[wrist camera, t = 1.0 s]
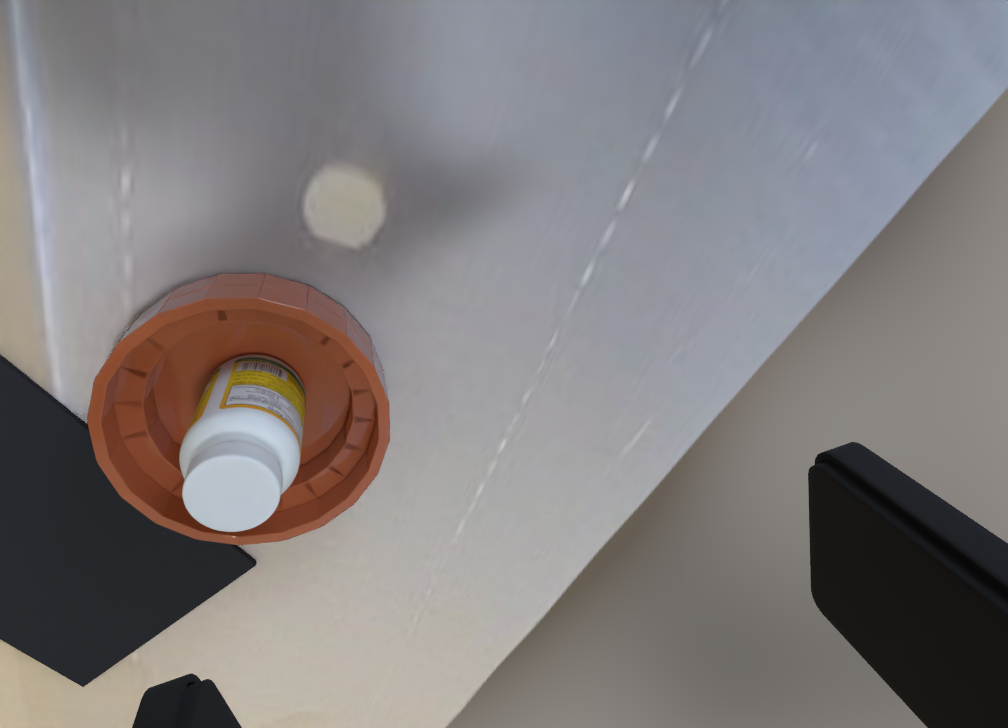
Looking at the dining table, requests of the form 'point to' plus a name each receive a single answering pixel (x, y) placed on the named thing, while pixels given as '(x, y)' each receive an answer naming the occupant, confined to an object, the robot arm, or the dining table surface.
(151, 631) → the mat
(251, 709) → the dining table surface
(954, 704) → the robot arm
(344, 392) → the bowl
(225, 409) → the supplement bottle
